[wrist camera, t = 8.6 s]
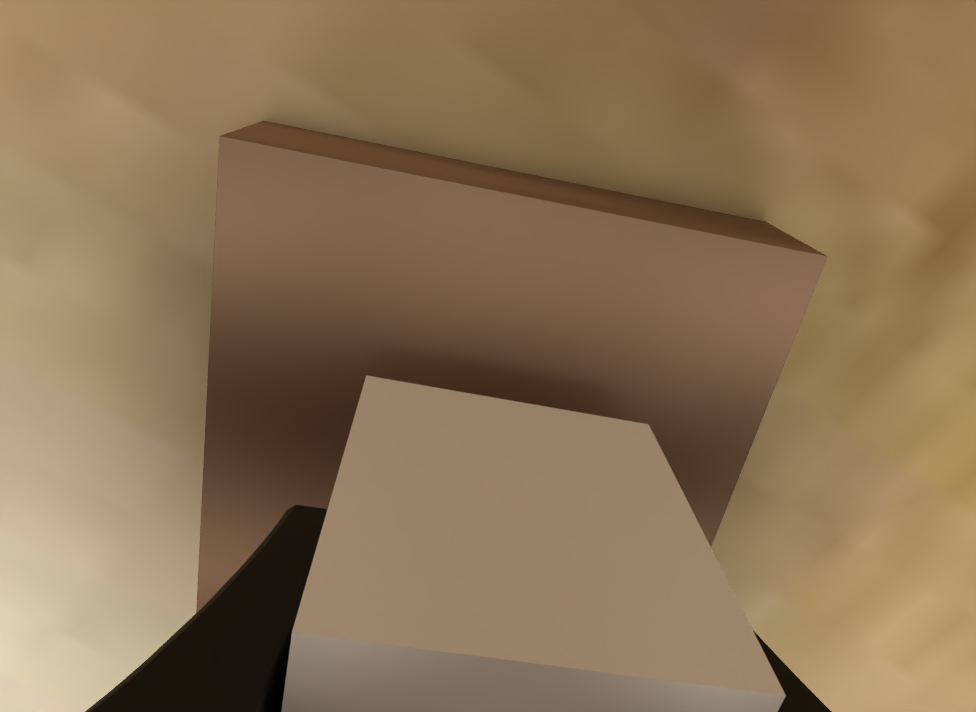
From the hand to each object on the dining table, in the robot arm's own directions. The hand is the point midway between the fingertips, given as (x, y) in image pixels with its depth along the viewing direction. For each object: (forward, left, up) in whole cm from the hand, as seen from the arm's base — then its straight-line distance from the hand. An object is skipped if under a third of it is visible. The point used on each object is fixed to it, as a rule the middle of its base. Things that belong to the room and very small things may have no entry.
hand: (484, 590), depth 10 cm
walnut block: (0, 0, -6) cm, 6 cm away
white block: (0, 0, -2) cm, 2 cm away
